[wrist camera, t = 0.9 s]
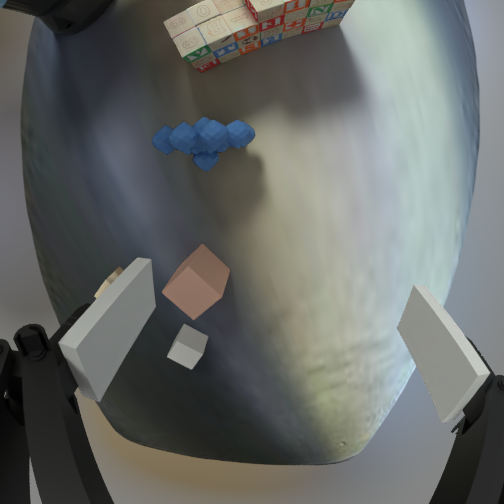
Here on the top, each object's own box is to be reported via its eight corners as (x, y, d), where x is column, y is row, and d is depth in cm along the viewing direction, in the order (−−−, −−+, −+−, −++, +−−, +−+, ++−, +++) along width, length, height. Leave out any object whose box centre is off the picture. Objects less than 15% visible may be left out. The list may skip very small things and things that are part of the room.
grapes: (176, 169, 38) (140, 183, 27) (173, 123, 35) (134, 120, 24) (258, 165, 37) (251, 176, 26) (256, 117, 34) (249, 107, 23)
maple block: (107, 282, 47) (94, 296, 42) (119, 266, 45) (105, 279, 40) (126, 300, 48) (115, 315, 43) (139, 285, 46) (128, 300, 42)
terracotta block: (178, 266, 44) (161, 292, 37) (202, 243, 42) (188, 266, 35) (205, 291, 45) (193, 320, 38) (230, 269, 44) (222, 297, 36)
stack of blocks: (201, 74, 32) (171, 51, 21) (184, 42, 30) (151, 12, 19) (340, 24, 28) (364, -12, 16) (320, -7, 26) (334, -49, 14)
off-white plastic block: (174, 339, 50) (167, 356, 46) (184, 323, 49) (176, 340, 44) (197, 351, 51) (191, 369, 47) (208, 336, 49) (202, 354, 45)
